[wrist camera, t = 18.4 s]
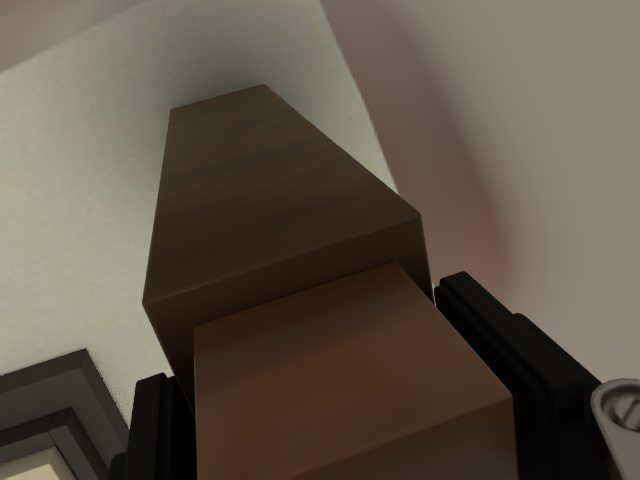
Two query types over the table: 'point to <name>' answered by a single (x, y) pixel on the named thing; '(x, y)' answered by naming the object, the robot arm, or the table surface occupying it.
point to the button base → (62, 415)
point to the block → (348, 390)
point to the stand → (261, 218)
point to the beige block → (37, 466)
